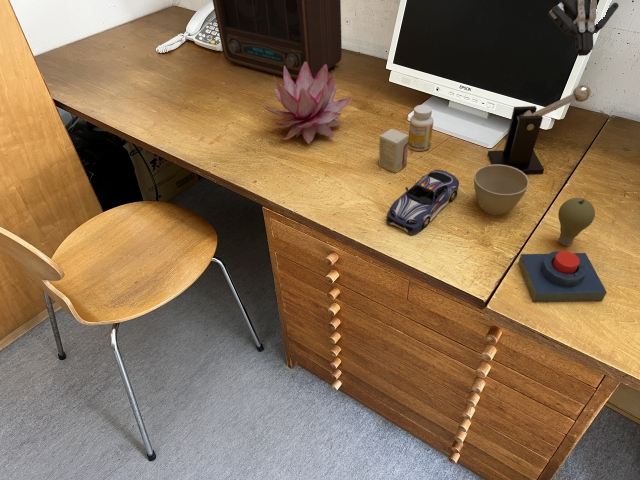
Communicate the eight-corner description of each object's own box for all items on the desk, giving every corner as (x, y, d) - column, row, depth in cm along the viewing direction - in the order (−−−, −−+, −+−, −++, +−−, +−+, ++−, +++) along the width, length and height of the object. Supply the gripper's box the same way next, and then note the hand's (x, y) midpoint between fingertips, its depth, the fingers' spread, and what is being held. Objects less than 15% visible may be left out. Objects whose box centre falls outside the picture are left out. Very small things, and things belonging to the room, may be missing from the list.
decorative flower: (289, 162, 112) (282, 103, 102) (254, 124, 126) (245, 69, 116) (366, 136, 119) (367, 78, 108) (325, 103, 133) (322, 48, 122)
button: (571, 258, 80) (575, 250, 78) (579, 274, 77) (583, 266, 76) (549, 258, 80) (552, 251, 79) (557, 274, 77) (560, 266, 76)
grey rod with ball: (588, 92, 96) (585, 79, 94) (595, 99, 94) (591, 86, 92) (519, 125, 102) (514, 113, 100) (523, 132, 99) (519, 121, 97)
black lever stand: (531, 153, 109) (546, 102, 100) (542, 174, 103) (559, 120, 94) (487, 155, 110) (498, 103, 101) (495, 175, 104) (508, 122, 95)
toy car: (381, 222, 94) (382, 202, 91) (430, 178, 104) (432, 159, 101) (415, 238, 91) (417, 218, 87) (462, 191, 100) (466, 171, 97)
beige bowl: (512, 191, 99) (520, 163, 94) (526, 223, 92) (536, 193, 87) (464, 193, 100) (469, 164, 95) (474, 224, 93) (480, 195, 88)
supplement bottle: (415, 154, 112) (419, 117, 105) (403, 143, 115) (406, 107, 109) (435, 147, 113) (439, 110, 107) (422, 137, 117) (425, 101, 110)
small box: (407, 165, 108) (409, 135, 103) (395, 173, 106) (397, 143, 101) (390, 157, 111) (391, 127, 106) (377, 165, 109) (378, 135, 104)
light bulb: (578, 258, 85) (597, 215, 78) (545, 248, 87) (561, 205, 80) (583, 238, 88) (601, 196, 81) (551, 230, 90) (566, 187, 83)
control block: (581, 261, 84) (589, 245, 81) (602, 301, 77) (611, 284, 75) (517, 262, 85) (523, 246, 82) (533, 302, 78) (539, 285, 75)
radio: (220, 65, 156) (199, -38, 136) (256, 46, 166) (241, -53, 146) (309, 89, 140) (300, -24, 119) (342, 66, 150) (340, -42, 129)
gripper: (554, -43, 91) (558, 47, 90) (626, -47, 90) (630, 44, 89) (539, -20, 98) (542, 63, 97) (605, -23, 97) (609, 60, 97)
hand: (584, 53), depth 93 cm, fingers closed
